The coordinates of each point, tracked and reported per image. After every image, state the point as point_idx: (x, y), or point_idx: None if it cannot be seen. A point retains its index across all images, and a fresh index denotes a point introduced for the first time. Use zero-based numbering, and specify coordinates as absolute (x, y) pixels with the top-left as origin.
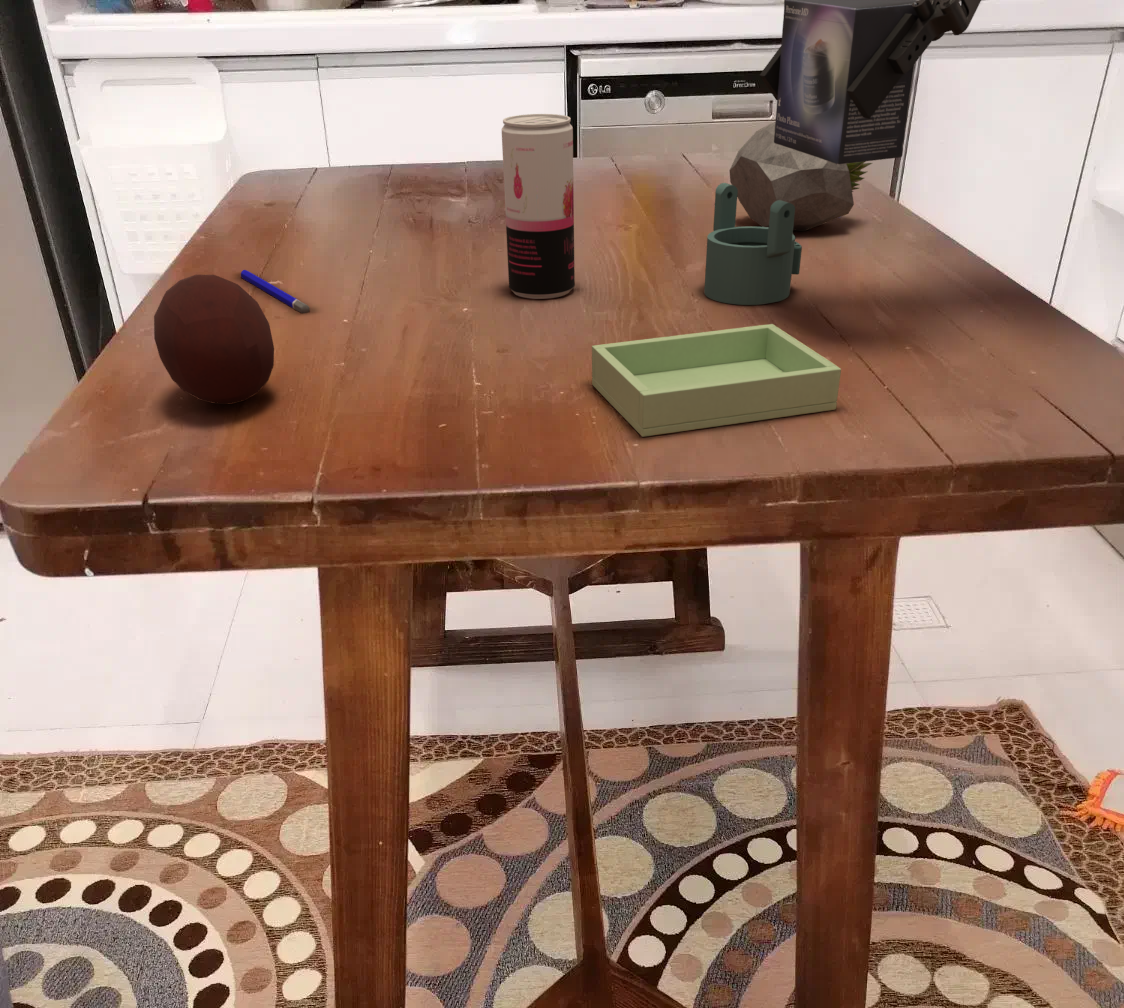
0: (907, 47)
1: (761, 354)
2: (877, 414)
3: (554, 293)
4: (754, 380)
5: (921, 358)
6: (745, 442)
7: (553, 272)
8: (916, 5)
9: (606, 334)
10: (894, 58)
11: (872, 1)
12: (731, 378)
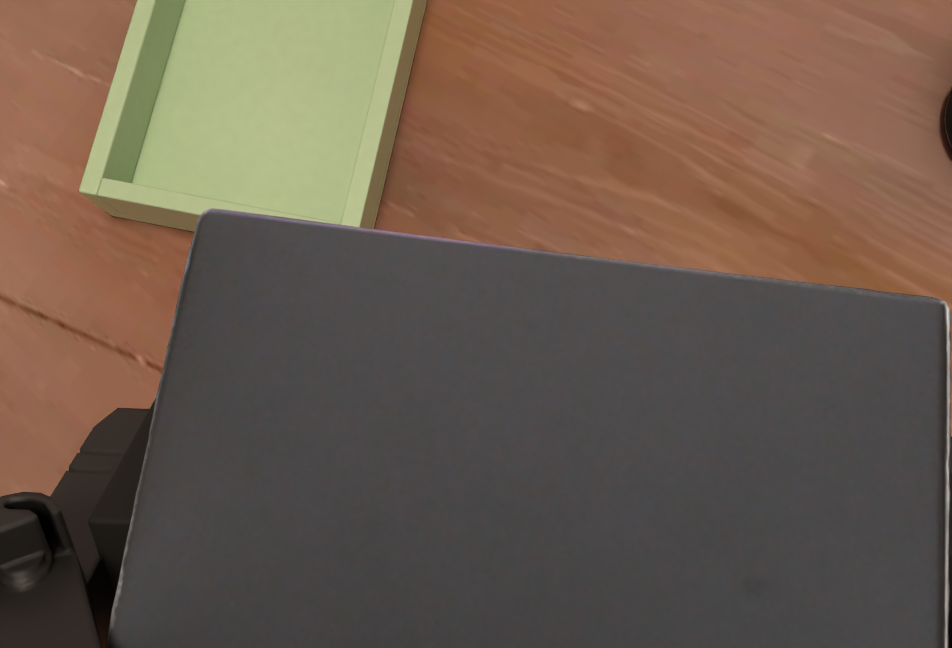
0: (83, 454)
1: None
2: (56, 261)
3: (945, 119)
4: (126, 38)
5: None
6: (96, 22)
7: None
8: (18, 499)
9: (669, 101)
10: (128, 410)
11: (289, 407)
12: (299, 131)
